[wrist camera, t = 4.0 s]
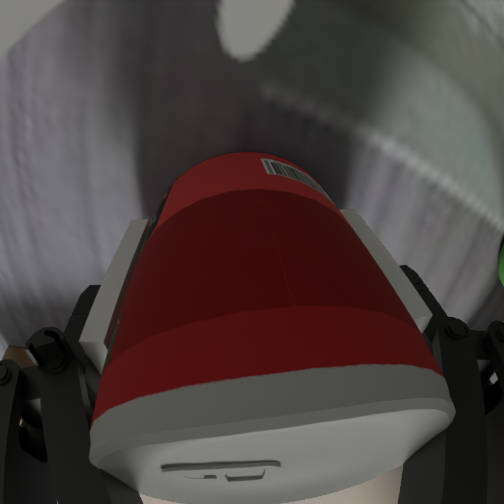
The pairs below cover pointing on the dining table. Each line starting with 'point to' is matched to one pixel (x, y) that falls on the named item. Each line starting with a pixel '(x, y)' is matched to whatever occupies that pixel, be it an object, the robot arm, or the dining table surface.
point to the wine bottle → (501, 265)
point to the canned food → (260, 348)
